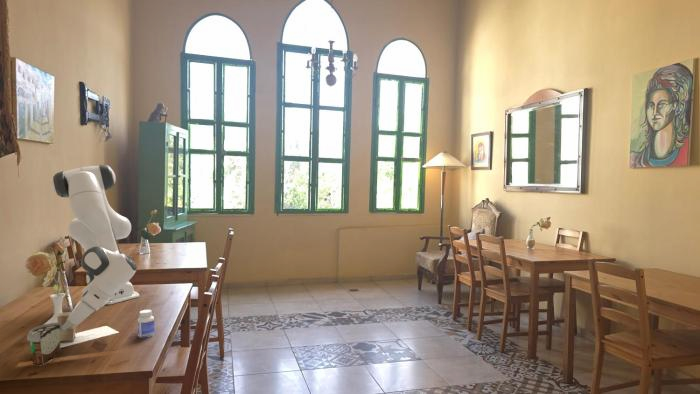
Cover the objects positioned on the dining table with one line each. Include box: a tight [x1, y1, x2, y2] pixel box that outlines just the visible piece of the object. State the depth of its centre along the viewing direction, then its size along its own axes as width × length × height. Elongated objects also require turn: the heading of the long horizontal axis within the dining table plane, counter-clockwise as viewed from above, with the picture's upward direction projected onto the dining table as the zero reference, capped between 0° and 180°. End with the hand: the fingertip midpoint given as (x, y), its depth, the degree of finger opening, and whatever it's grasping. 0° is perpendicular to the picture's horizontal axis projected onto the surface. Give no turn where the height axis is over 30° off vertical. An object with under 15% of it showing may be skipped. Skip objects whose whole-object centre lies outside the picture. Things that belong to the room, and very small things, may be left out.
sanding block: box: [57, 311, 76, 343], centre depth 154 cm, size 4×4×9 cm
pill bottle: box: [137, 309, 156, 339], centre depth 160 cm, size 5×5×10 cm
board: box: [60, 325, 120, 349], centre depth 158 cm, size 20×11×1 cm, turn 141°
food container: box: [26, 322, 62, 366], centre depth 141 cm, size 12×6×10 cm, turn 5°
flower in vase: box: [41, 265, 77, 328], centre depth 165 cm, size 13×11×25 cm
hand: (64, 326), depth 154 cm, fingers closed on sanding block, 4 cm apart
